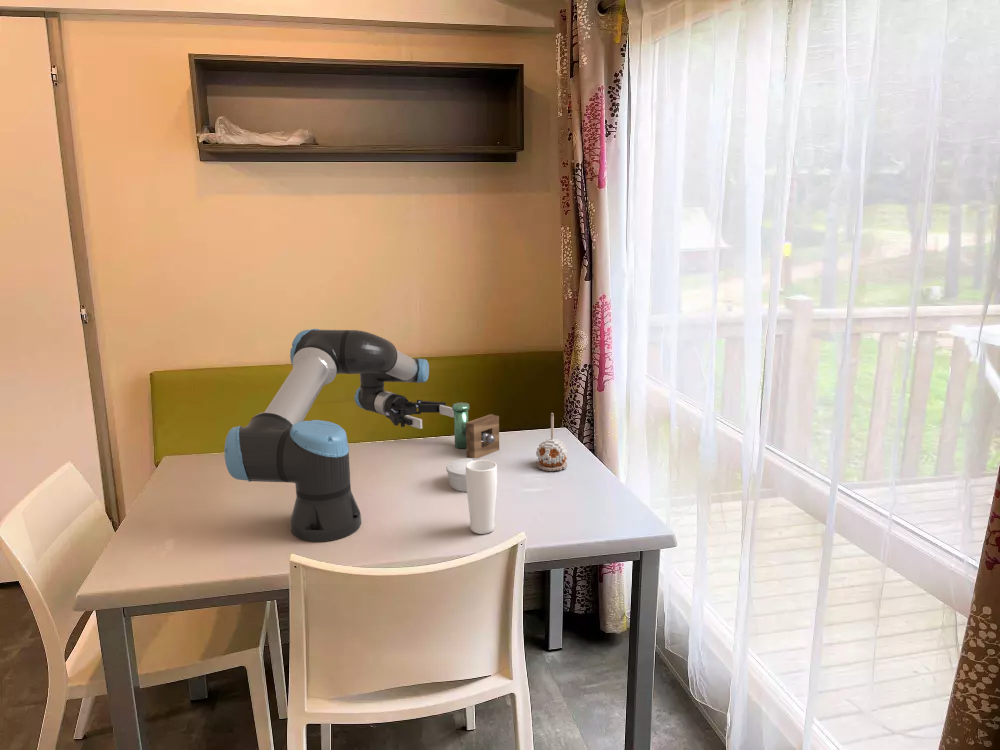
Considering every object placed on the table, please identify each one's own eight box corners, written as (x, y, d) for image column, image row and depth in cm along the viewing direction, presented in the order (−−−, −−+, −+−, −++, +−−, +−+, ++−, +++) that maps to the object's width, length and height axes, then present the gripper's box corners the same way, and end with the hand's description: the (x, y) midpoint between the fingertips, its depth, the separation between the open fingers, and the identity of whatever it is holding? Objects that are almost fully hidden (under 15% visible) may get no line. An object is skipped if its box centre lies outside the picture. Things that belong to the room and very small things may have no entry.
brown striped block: (466, 456, 203) (466, 422, 200) (491, 447, 210) (491, 414, 208) (474, 459, 201) (473, 424, 199) (499, 449, 208) (498, 416, 206)
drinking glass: (488, 539, 155) (487, 473, 152) (461, 532, 159) (459, 467, 155) (503, 526, 161) (502, 462, 157) (477, 520, 164) (475, 457, 161)
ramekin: (500, 483, 185) (500, 463, 184) (472, 498, 176) (472, 477, 175) (466, 473, 191) (465, 454, 190) (438, 487, 183) (437, 467, 182)
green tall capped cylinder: (450, 445, 211) (448, 405, 208) (461, 441, 214) (460, 401, 211) (487, 458, 201) (487, 415, 198) (499, 453, 204) (499, 411, 201)
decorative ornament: (532, 469, 193) (532, 415, 190) (544, 460, 200) (544, 407, 196) (559, 474, 190) (560, 419, 186) (571, 464, 196) (571, 411, 193)
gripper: (422, 407, 240) (468, 420, 226) (360, 426, 222) (406, 441, 208) (421, 385, 238) (468, 397, 224) (359, 402, 220) (405, 416, 206)
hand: (438, 418), depth 216 cm, fingers open, 13 cm apart
